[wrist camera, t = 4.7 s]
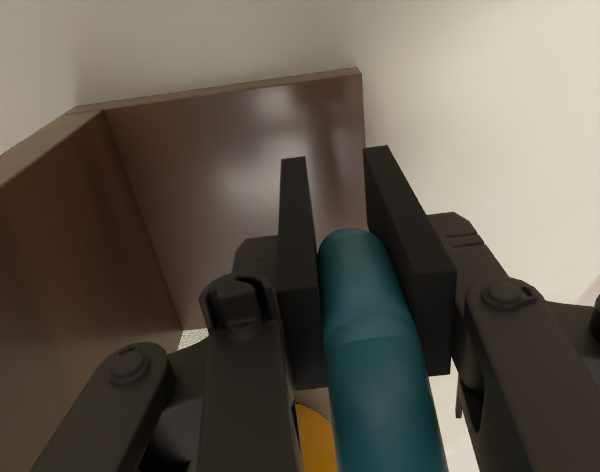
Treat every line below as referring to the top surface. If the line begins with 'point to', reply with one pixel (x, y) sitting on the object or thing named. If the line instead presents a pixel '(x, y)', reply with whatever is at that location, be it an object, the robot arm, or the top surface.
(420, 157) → the top surface
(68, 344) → the hook board
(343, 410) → the ring
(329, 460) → the apple
